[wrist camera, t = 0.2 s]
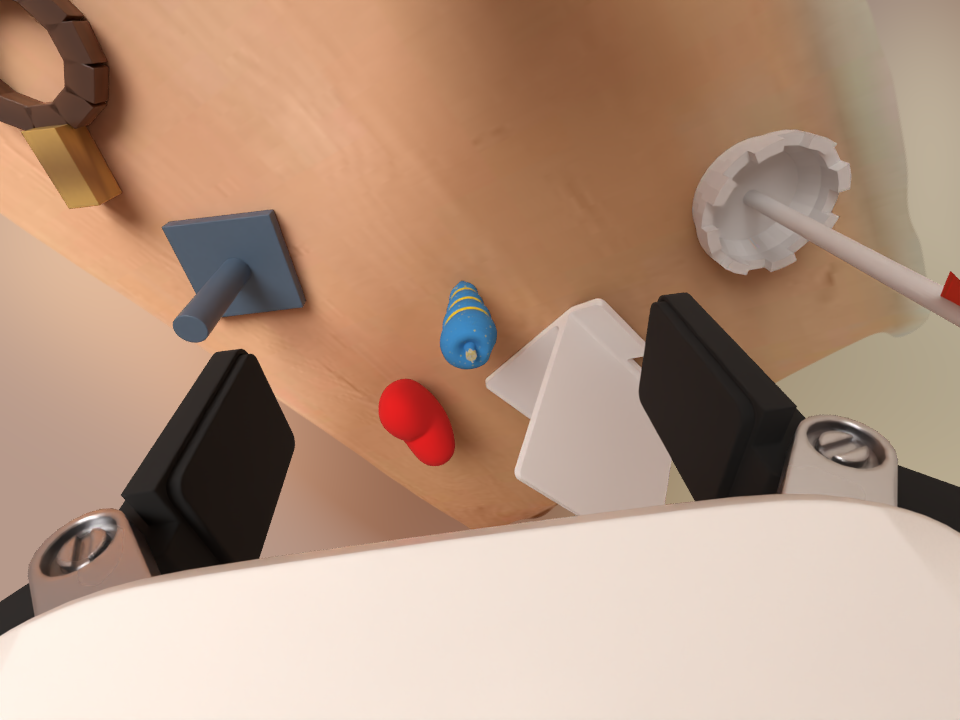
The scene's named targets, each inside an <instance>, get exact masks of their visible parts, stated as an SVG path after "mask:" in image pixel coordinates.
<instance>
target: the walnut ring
mask: <svg viewBox="0 0 960 720" xmlns="http://www.w3.org/2000/svg"><path fill="white" fill-rule="evenodd" d="M13 1H15V2H18V3H19V4H20V5H21V6H22V7H23V8H24V9H25V10H27V11H28V12H29V13H30V14H31V15H32V16H33V17H34V18H35V19H36V20H37V21H38V22H39V23H40V24H41V25H42V26H44V27H45V28H46V29H47V31H48V32H49V34H50V36H51V38H52V40H53V42H54V44H55V46H56V47H57V49H58V51H59V53H60V55H61V57H62V59H63V61H64V80H65V87H64V89H63V90H62V91H61V92H60V93H59V95H58V96H57V97H56V98H55V99H54V101H53V102H46V103H43V102H40V101H38V100H35V99H33V98H30V97H28V96H25V95H22V94H20V93H17V92H15V91H14V90H13V89H12V88H10V87H9V86H8V85H7V84H6V83H4V82H3V81H2V80H1V79H0V121H1V122H4V123H6V124H9V125H12V126H15V127H17V128H20V129H23V130H25V131H22V132H21V133H22V134H23V136H24V138H25V139H26V141H27V142H28V144H29V146H30V147H31V149H32V150H33V152H34V154H35V155H36V157H37V158H38V160H39V162H40V163H41V165H42V166H43V168H44V170H45V171H46V173H47V174H48V176H49V177H50V179H51V181H52V182H53V184H54V185H55V187H56V189H57V190H58V192H59V193H60V195H61V197H62V198H63V200H64V201H65V203H66V205H67V206H68V208H69V209H73V208H81V207H90V206H99V205H101V204H103V203H105V202H107V201H108V200H110V199H112V198H114V197H116V196H117V195H119V194H121V193H122V191H121V190H120V188H119V186H118V184H117V182H116V180H115V179H114V177H113V175H112V173H111V171H110V169H109V168H108V166H107V164H106V162H105V160H104V158H103V157H102V155H101V153H100V151H99V149H98V148H97V146H96V144H95V142H94V140H93V138H92V137H91V135H90V133H89V131H88V129H87V127H86V126H87V125H90V124H91V123H92V121H93V120H94V119H95V118H96V117H97V116H98V115H99V113H100V112H101V111H102V110H103V109H104V108H105V107H106V105H107V104H106V103H105V102H104V101H108V100H109V67H108V66H106V65H103V64H101V62H107V59H106V57H105V55H104V53H103V51H102V49H101V47H100V45H99V43H98V41H97V39H96V37H95V35H94V33H93V30H92V28H91V26H90V24H89V22H88V21H80V20H81V19H82V18H83V16H84V15H83V14H82V13H81V12H80V11H79V10H78V9H77V8H76V7H75V6H74V5H73V4H72V3H71V2H70V1H69V0H13Z"/></svg>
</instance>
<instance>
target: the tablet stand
mask: <svg viewBox="0 0 960 720" xmlns="http://www.w3.org/2000/svg"><path fill="white" fill-rule="evenodd" d="M644 349H645V341H644V340H643V339H642V338H641V337H640V336H639V335H638V334H637V333H636V332H635V331H634V330H633V329H632V328H631V327H630V326H629V325H628V324H627V323H626V322H625V321H624V320H623V319H622V318H621V317H620V316H619V315H618V314H617V313H616V312H615V311H614V310H613V309H612V308H611V307H610V306H609V305H608V304H607V303H606V302H605V301H604V300H602V299H593V300H590V301H587V302H585V303H582V304H579V305H576V306H573V307H571V308H569V309H568V310H567V311H566V312H565V313H564V314H562V315H561V316H560V317H559V318H558V319H556V320H555V321H554V322H553V323H552V324H550V325H549V326H548V327H547V328H546V329H544V330H543V331H542V332H541V333H540V334H539V335H537V336H536V337H535V338H534V339H533V340H531V341H530V342H529V343H528V344H527V345H525V346H524V347H523V348H522V349H521V350H519V351H518V352H517V353H516V354H515V355H514V356H512V357H511V358H510V359H509V360H508V361H506V362H505V363H504V364H503V365H502V366H500V367H499V368H498V369H497V370H496V371H494V372H493V373H492V374H491V375H490V376H489V377H487V378H486V381H485V382H486V387H487V388H488V389H489V390H490V391H492V392H493V393H495V394H496V395H497V396H499V397H500V398H502V399H503V400H504V401H506V402H507V403H509V404H510V405H511V406H513V407H514V408H515V409H517V410H518V411H520V412H521V413H522V414H524V415H525V416H527V417H528V418H529V419H531V420H530V423H529V426H528V429H527V432H526V435H525V439H524V442H523V445H522V448H521V451H520V454H519V458H518V461H517V464H516V467H515V476H516V478H517V479H518V480H520V481H521V482H523V483H525V484H526V485H528V486H530V487H531V488H533V489H534V490H536V491H538V492H539V493H541V494H543V495H544V496H546V497H547V498H549V499H551V500H552V501H554V502H556V503H557V504H559V505H561V506H562V507H564V508H565V509H567V510H569V511H570V512H572V513H574V514H575V515H577V516H580V515H587V514H595V513H603V512H611V511H619V510H626V509H634V508H642V507H650V506H658V505H665V498H666V493H667V486H668V480H669V473H670V467H671V461H672V459H671V457H670V455H669V453H668V452H667V450H666V448H665V446H664V444H663V443H662V441H661V439H660V437H659V435H658V434H657V432H656V430H655V428H654V426H653V424H652V423H651V421H650V419H649V417H648V415H647V414H646V412H645V410H644V408H643V406H642V405H641V402H640V399H639V383H640V376H641V369H642V368H641V367H640V366H639V365H638V364H637V363H636V362H635V361H634V360H633V359H632V358H637V357H643V356H644Z"/></svg>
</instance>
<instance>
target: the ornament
mask: <svg viewBox="0 0 960 720" xmlns="http://www.w3.org/2000/svg"><path fill="white" fill-rule="evenodd" d="M496 339H497V330H496V326H495V324H494V322H493V320H492V319H491V315H490V312H489V310H488V309H487V307H486V306H485V305H484V303H483V300H482V298H481V297H480V296H479V295H478V291H477V289H476V287H475V286H474V285H472V284H471V283H468V282H465V281H460V282H459V283H458V284H457V285H456V286H455V287H454V288H453V290H452V291H451V294H450V298H449V304H448V307H447V314H446V315H445V318H444V321H443V330H442V333H441V338H440V347H441V351H442V354H443V356H444V357H445V359H446V360H447V361H448V362H449V363H450V364H451V365H453V366H455V367H457V368H461V369H473V368H477V367H480V366H482V365H484V364H485V363H486V362H487V361H488V360H489V357H490V354H491V351H492V349H493V347H494V345H495V343H496Z"/></svg>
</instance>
